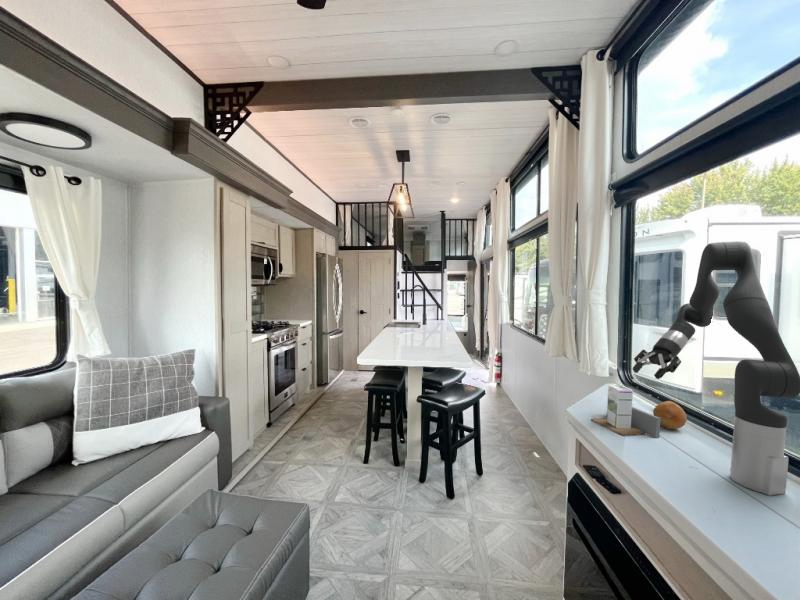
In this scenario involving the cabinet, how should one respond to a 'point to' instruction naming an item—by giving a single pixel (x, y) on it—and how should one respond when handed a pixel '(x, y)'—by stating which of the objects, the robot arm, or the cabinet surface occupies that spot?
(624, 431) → the walnut pad
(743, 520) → the cabinet surface
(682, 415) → the onion
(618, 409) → the syrup box
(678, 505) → the cabinet surface
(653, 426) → the grey barrier panel
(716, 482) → the cabinet surface
